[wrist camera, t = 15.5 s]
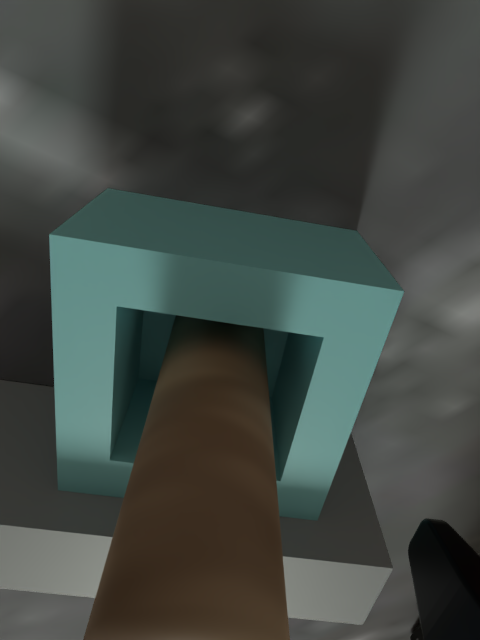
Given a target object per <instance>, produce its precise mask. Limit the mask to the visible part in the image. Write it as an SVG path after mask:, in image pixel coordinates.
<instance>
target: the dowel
mask: <svg viewBox="0 0 480 640" xmlns="http://www.w3.org/2000/svg"><path fill="white" fill-rule="evenodd" d="M83 640H290V636H289V625H288V613H287V601H286V589H285V577H284V565H283V553H282V542H281V530H280V518H279V506H278V494H277V482H276V470H275V459H274V447H273V435H272V423H271V411H270V399H269V387H268V376H267V364H266V352H265V340H264V328H258V327H251V326H245V325H238V324H231V323H225V322H218V321H212V320H205V319H198V318H192V317H185V316H178V315H176V317H175V320H174V324H173V327H172V331H171V334H170V338H169V341H168V345H167V348H166V352H165V355H164V359H163V362H162V366H161V369H160V373H159V376H158V380H157V383H156V387H155V390H154V394H153V397H152V401H151V404H150V408H149V411H148V415H147V418H146V422H145V426H144V429H143V433H142V436H141V440H140V443H139V447H138V450H137V454H136V457H135V461H134V464H133V468H132V471H131V475H130V478H129V482H128V485H127V489H126V492H125V496H124V499H123V503H122V506H121V510H120V513H119V517H118V520H117V524H116V527H115V531H114V534H113V538H112V541H111V545H110V548H109V552H108V555H107V559H106V562H105V566H104V569H103V573H102V576H101V580H100V583H99V587H98V590H97V594H96V597H95V601H94V604H93V608H92V611H91V615H90V618H89V622H88V625H87V629H86V632H85V636H84V639H83Z"/></svg>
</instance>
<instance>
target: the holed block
mask: <svg viewBox="0 0 480 640" xmlns="http://www.w3.org/2000/svg"><path fill="white" fill-rule="evenodd" d="M49 243H50V272H51V302H52V331H53V361H54V390H55V420H56V449H57V479H58V490H60V491H69V492H77V493H86V494H94V495H103V496H111V497H120V498H124V496H125V492H126V489H127V485H128V482H129V478H130V475H131V471H132V468H133V464H134V461H135V457H136V454H137V450H138V447H139V443H140V440H141V436H142V433H143V429H144V426H145V422H146V418H147V415H148V411H149V408H150V404H151V401H152V397H153V394H154V390H155V387H156V383H157V380H158V376H159V373H160V369H161V366H162V362H163V359H164V355H165V352H166V348H167V345H168V341H169V338H170V334H171V331H172V327H173V324H174V320H175V317H176V315H178V316H185V317H192V318H198V319H205V320H212V321H218V322H225V323H231V324H238V325H245V326H251V327H258V328H264V340H265V352H266V364H267V376H268V387H269V399H270V411H271V423H272V435H273V447H274V459H275V470H276V482H277V494H278V506H279V516H281V517H290V518H299V519H307V520H316V521H317V520H318V518H319V515H320V513H321V510H322V507H323V505H324V502H325V499H326V497H327V494H328V491H329V489H330V486H331V484H332V481H333V478H334V476H335V473H336V470H337V468H338V465H339V462H340V460H341V457H342V454H343V452H344V449H345V447H346V444H347V441H348V439H349V436H350V433H351V431H352V428H353V425H354V423H355V420H356V418H357V415H358V412H359V410H360V407H361V404H362V402H363V399H364V396H365V394H366V391H367V388H368V386H369V383H370V381H371V378H372V375H373V373H374V370H375V367H376V365H377V362H378V359H379V357H380V354H381V352H382V349H383V346H384V344H385V341H386V338H387V336H388V333H389V330H390V328H391V325H392V322H393V320H394V317H395V315H396V312H397V309H398V307H399V304H400V301H401V299H402V296H403V293H404V290H403V289H402V288H401V287H400V285H399V284H398V283H397V281H396V280H395V279H394V278H393V276H392V275H391V274H390V273H389V271H388V270H387V269H386V267H385V266H384V265H383V264H382V262H381V261H380V260H379V258H378V257H377V256H376V255H375V253H374V252H373V251H372V250H371V248H370V247H369V246H368V244H367V243H366V242H365V241H364V239H363V238H362V237H361V236H360V234H359V233H358V232H357V231H355V230H349V229H343V228H337V227H331V226H325V225H320V224H314V223H308V222H302V221H296V220H290V219H285V218H279V217H273V216H267V215H261V214H255V213H249V212H244V211H238V210H232V209H226V208H220V207H214V206H209V205H203V204H197V203H191V202H185V201H179V200H173V199H168V198H162V197H156V196H150V195H144V194H138V193H132V192H127V191H121V190H115V189H109V188H107V189H106V190H105V191H103V192H102V193H101V194H100V195H98V196H97V197H96V198H95V199H93V200H92V201H91V202H89V203H88V204H87V205H86V206H84V207H83V208H82V209H81V210H79V211H78V212H77V213H76V214H74V215H73V216H72V217H70V218H69V219H68V220H67V221H65V222H64V223H63V224H62V225H60V226H59V227H58V228H56V229H55V230H54V231H53V232H51V233H50V234H49Z"/></svg>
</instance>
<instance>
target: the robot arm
mask: <svg viewBox="0 0 480 640" xmlns="http://www.w3.org/2000/svg"><path fill="white" fill-rule="evenodd" d="M408 555H409V561H410V567H411V573H412V578H413V584H414V590H415V595H416V601H417V606H418V612H419V618H420V623H419V624H418V626H417V628H416V629H415V631H414V632H413V634H412V635H411V637H410V639H411V640H480V556H479V555H478V554H477V553H476V552H475V551H474V550H473V549H472V548H471V547H470V546H469V545H468V544H467V543H466V542H465V541H464V539H463V538H462V537H461V536H460V535H459V534H458V533H457V532H456V531H455V530H454V529H453V528H452V527H451V526H450V525H449V524H448V523H446V522H445V521H442V520H436V519H424V520H423V521H422V522H421V523H420V525H419V527H418V529H417V531H416V532H415V534H414V536H413V538H412V540H411V541H410V544H409V549H408Z"/></svg>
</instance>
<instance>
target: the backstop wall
mask: <svg viewBox="0 0 480 640" xmlns="http://www.w3.org/2000/svg"><path fill="white" fill-rule="evenodd" d="M123 499H124V498H120V497H111V496H103V495H94V494H86V493H77V492H69V491H60V490H58V479H57V449H56V420H55V390H54V387H49V386H42V385H35V384H27V383H20V382H13V381H5V380H0V588H1V589H11V590H21V591H31V592H41V593H51V594H61V595H71V596H81V597H91V598H95V597H96V594H97V590H98V587H99V583H100V580H101V576H102V573H103V569H104V566H105V562H106V559H107V555H108V552H109V548H110V545H111V541H112V538H113V534H114V531H115V527H116V524H117V520H118V517H119V513H120V510H121V506H122V503H123ZM279 518H280V530H281V542H282V553H283V565H284V577H285V589H286V601H287V613H288V617H289V618H299V619H309V620H318V621H328V622H338V623H348V624H358V625H363V623H364V621H365V620H366V618H367V616H368V614H369V612H370V610H371V608H372V607H373V605H374V603H375V601H376V599H377V597H378V596H379V594H380V592H381V590H382V588H383V586H384V584H385V583H386V581H387V579H388V577H389V575H390V573H391V572H392V570H393V566H392V563H391V560H390V557H389V554H388V550H387V547H386V544H385V541H384V538H383V534H382V531H381V528H380V525H379V521H378V518H377V515H376V512H375V509H374V505H373V502H372V499H371V496H370V493H369V489H368V486H367V483H366V480H365V476H364V473H363V470H362V467H361V464H360V460H359V457H358V454H357V451H356V448H355V444H354V441H353V438H352V435H351V433H350V436H349V439H348V441H347V444H346V447H345V449H344V452H343V454H342V457H341V460H340V462H339V465H338V468H337V470H336V473H335V476H334V478H333V481H332V484H331V486H330V489H329V491H328V494H327V497H326V499H325V502H324V505H323V507H322V510H321V513H320V515H319V518H318V520H317V521H316V520H307V519H299V518H290V517H281V516H279Z"/></svg>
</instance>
